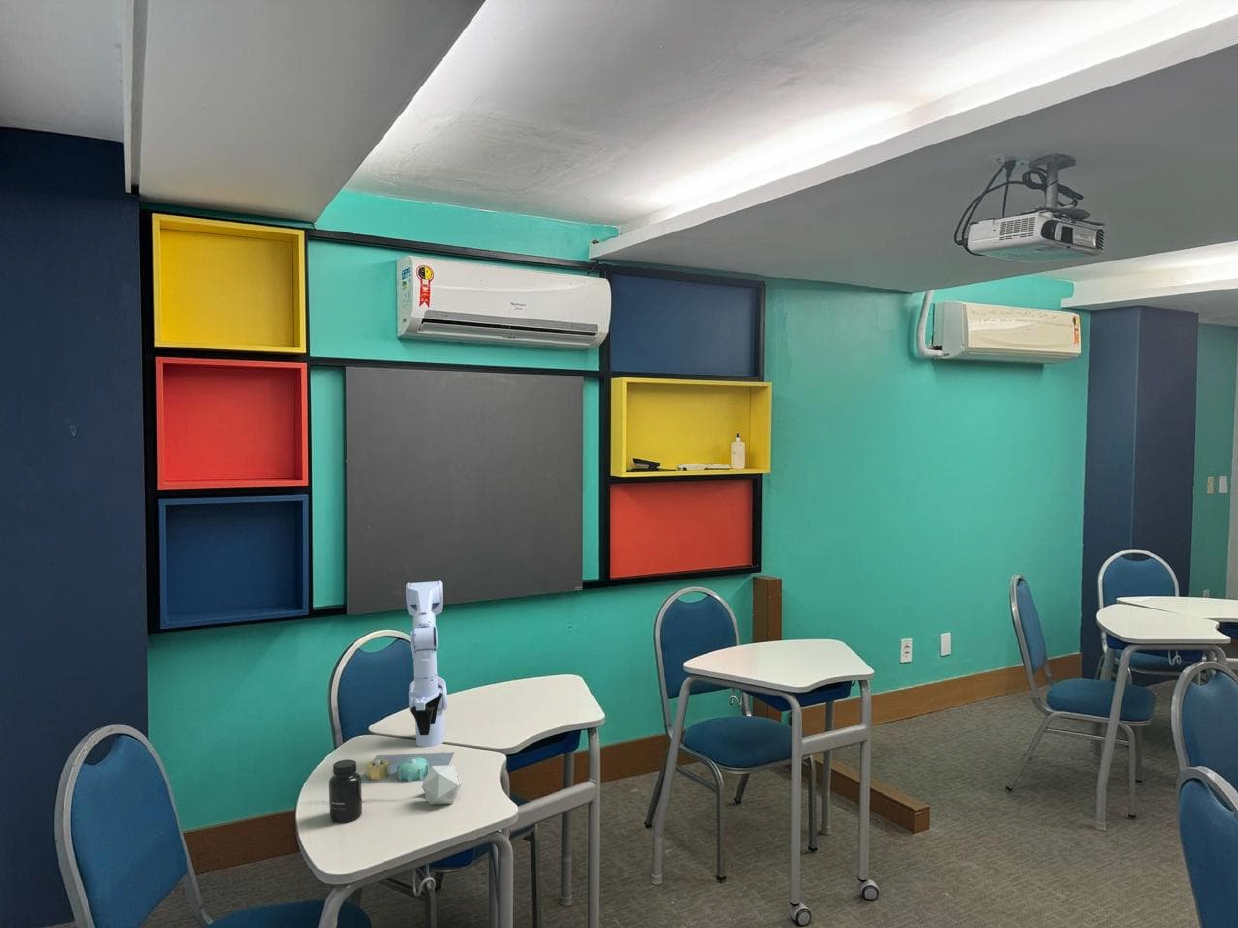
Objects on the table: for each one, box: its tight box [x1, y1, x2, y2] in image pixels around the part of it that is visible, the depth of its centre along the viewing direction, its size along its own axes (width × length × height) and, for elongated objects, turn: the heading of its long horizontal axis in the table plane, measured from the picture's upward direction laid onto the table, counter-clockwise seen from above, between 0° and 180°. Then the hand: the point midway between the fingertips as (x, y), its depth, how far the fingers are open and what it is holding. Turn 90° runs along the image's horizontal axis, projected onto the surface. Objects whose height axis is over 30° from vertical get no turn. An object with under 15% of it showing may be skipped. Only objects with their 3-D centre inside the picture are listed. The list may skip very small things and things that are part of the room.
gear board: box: [361, 751, 455, 784], centre depth 207 cm, size 17×20×5 cm
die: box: [421, 764, 463, 806], centre depth 190 cm, size 8×9×10 cm
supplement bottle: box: [328, 759, 363, 824], centre depth 183 cm, size 7×7×12 cm
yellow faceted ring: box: [365, 759, 390, 781], centre depth 202 cm, size 5×5×3 cm
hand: (427, 729), depth 208 cm, fingers open, 7 cm apart
